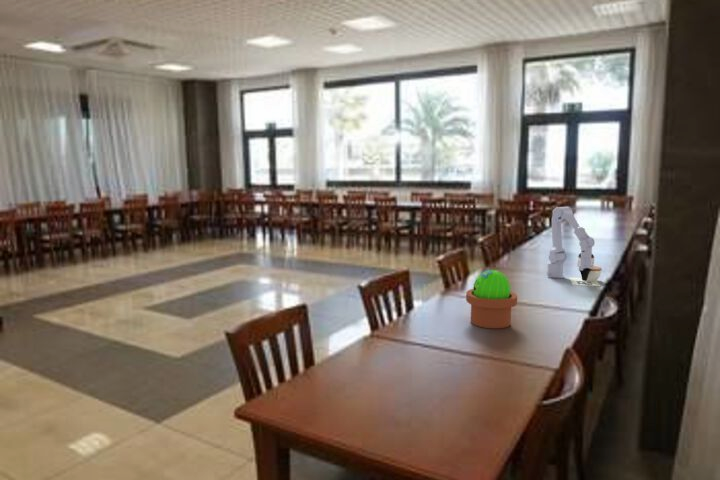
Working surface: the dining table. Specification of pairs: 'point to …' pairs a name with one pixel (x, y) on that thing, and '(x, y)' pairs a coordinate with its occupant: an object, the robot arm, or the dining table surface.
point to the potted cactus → (491, 300)
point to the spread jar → (580, 259)
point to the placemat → (583, 282)
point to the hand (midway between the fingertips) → (584, 280)
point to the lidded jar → (594, 273)
